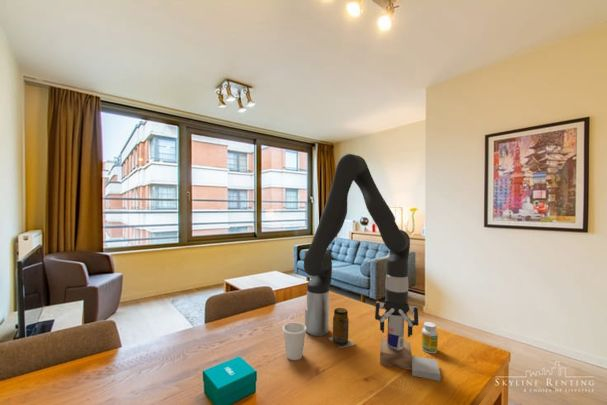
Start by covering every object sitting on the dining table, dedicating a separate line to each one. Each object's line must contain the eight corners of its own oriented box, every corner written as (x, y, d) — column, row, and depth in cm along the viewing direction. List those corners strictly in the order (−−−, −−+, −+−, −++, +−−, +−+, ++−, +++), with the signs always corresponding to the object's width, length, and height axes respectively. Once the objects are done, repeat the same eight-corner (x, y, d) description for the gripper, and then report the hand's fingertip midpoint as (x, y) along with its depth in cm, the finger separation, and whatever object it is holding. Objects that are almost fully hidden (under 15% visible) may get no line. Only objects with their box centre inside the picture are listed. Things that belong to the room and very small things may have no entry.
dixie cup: (278, 359, 94) (278, 330, 94) (288, 347, 102) (288, 320, 102) (301, 364, 92) (301, 335, 91) (309, 351, 99) (309, 324, 99)
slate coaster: (412, 375, 87) (412, 369, 87) (410, 361, 94) (410, 355, 94) (440, 381, 84) (440, 374, 84) (436, 365, 92) (436, 360, 92)
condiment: (343, 334, 112) (343, 305, 112) (355, 344, 105) (356, 313, 104) (327, 338, 109) (328, 308, 109) (339, 349, 101) (339, 317, 101)
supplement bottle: (426, 344, 105) (427, 319, 105) (440, 351, 101) (441, 325, 101) (418, 348, 102) (419, 323, 102) (432, 355, 98) (432, 329, 98)
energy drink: (384, 343, 98) (385, 310, 98) (399, 342, 99) (399, 309, 98) (391, 351, 93) (391, 316, 92) (406, 350, 93) (407, 316, 93)
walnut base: (380, 363, 93) (380, 352, 92) (381, 348, 102) (381, 337, 102) (411, 369, 89) (411, 357, 89) (409, 353, 99) (410, 342, 99)
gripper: (375, 288, 94) (374, 335, 94) (419, 293, 90) (418, 342, 90) (376, 282, 101) (375, 325, 101) (417, 286, 97) (417, 332, 97)
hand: (395, 333), depth 96 cm, fingers open, 8 cm apart
